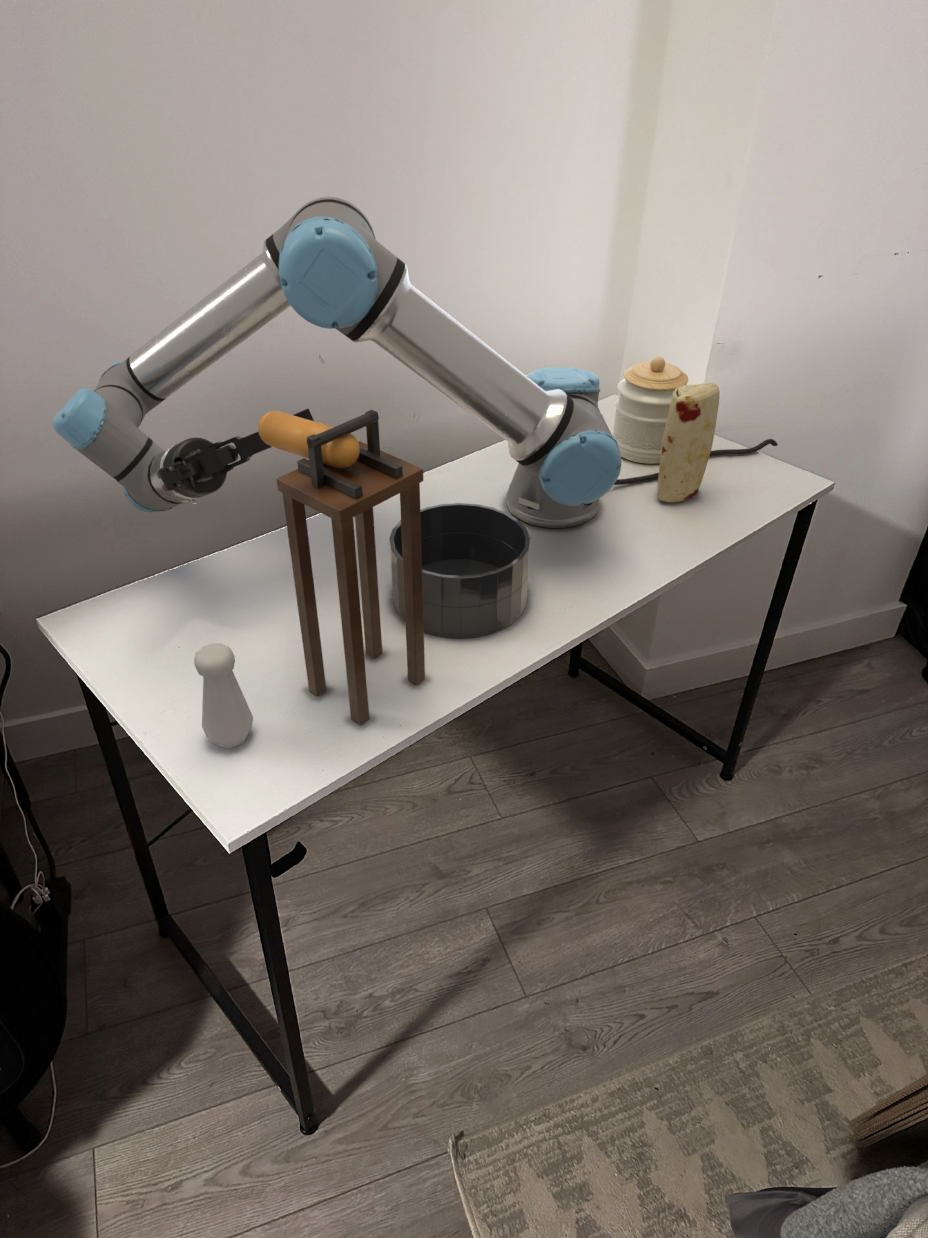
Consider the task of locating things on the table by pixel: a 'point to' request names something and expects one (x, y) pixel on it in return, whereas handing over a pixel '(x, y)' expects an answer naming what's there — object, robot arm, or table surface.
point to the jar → (645, 408)
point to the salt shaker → (222, 697)
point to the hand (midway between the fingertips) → (265, 438)
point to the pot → (466, 569)
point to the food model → (687, 441)
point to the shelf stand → (341, 501)
